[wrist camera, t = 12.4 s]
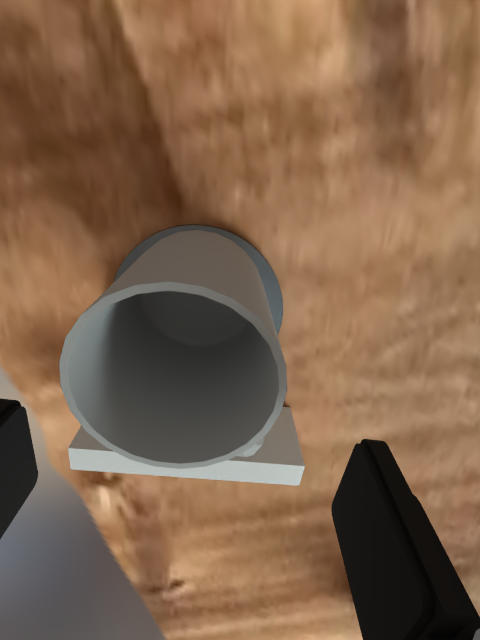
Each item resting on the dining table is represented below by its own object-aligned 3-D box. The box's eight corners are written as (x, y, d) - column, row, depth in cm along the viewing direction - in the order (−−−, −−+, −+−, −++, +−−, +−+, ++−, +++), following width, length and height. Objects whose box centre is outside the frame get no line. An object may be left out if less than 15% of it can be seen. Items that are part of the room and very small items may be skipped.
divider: (101, 390, 22) (68, 448, 17) (290, 407, 23) (305, 466, 19) (102, 408, 23) (70, 469, 18) (285, 424, 24) (299, 485, 19)
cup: (223, 201, 17) (217, 233, 8) (302, 350, 20) (349, 471, 12) (108, 267, 18) (7, 351, 10) (202, 396, 22) (186, 532, 14)
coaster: (111, 212, 17) (107, 213, 17) (296, 237, 18) (298, 239, 17) (116, 370, 21) (113, 375, 21) (266, 385, 22) (267, 390, 22)
